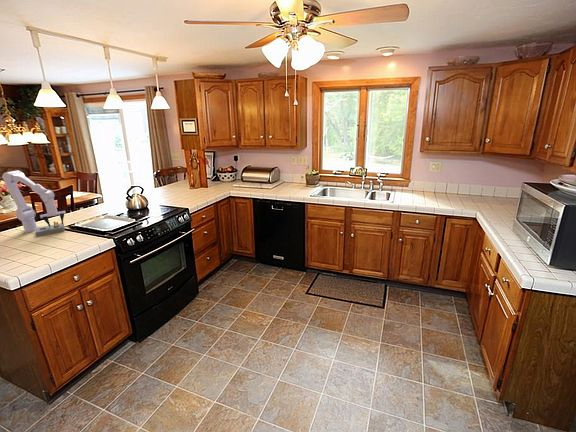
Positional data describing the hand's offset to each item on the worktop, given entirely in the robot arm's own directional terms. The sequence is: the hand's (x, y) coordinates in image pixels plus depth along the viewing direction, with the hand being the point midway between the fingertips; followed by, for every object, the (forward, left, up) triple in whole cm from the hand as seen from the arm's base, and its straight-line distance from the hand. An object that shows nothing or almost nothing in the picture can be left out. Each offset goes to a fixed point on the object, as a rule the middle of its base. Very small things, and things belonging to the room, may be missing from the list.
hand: (56, 225), depth 217 cm
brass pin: (0, 0, -3) cm, 3 cm away
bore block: (0, -4, -4) cm, 6 cm away
